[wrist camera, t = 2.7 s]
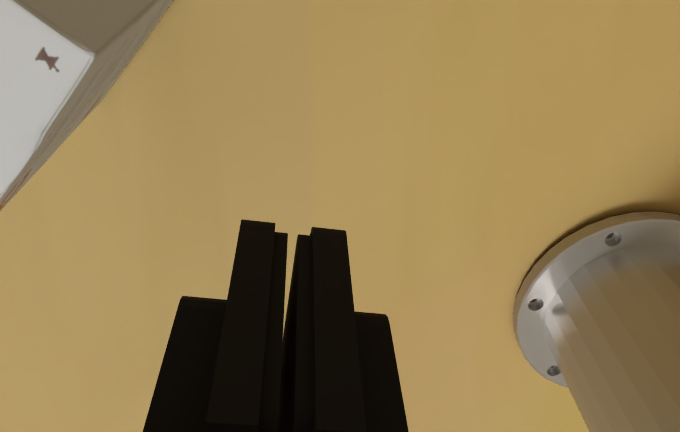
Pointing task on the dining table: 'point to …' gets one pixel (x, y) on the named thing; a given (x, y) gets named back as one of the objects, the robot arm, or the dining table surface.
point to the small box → (59, 72)
